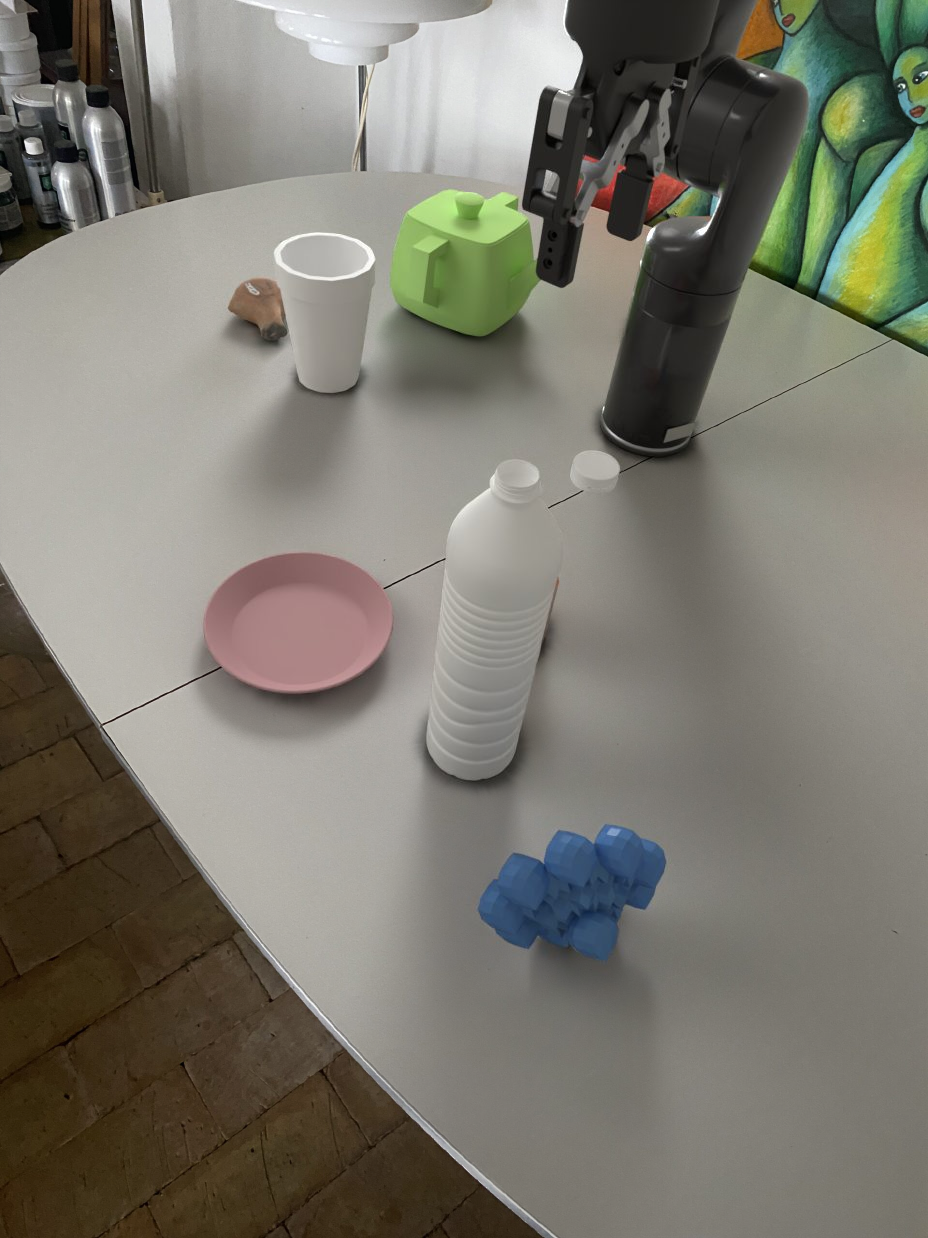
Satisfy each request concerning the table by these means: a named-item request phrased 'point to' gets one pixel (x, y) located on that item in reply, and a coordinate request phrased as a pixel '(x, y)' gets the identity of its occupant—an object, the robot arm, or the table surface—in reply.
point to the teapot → (464, 261)
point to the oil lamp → (260, 306)
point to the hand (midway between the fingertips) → (589, 257)
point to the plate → (298, 622)
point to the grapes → (574, 890)
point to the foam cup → (326, 305)
